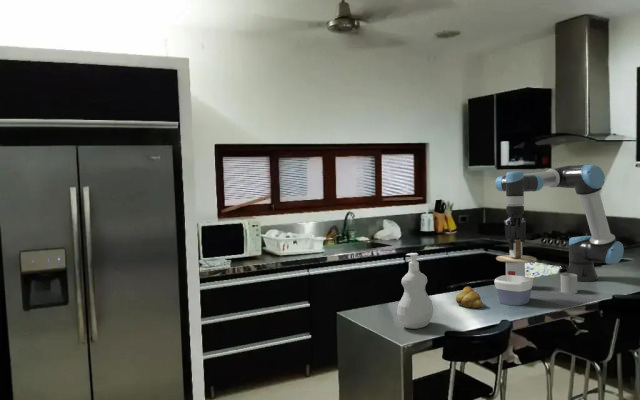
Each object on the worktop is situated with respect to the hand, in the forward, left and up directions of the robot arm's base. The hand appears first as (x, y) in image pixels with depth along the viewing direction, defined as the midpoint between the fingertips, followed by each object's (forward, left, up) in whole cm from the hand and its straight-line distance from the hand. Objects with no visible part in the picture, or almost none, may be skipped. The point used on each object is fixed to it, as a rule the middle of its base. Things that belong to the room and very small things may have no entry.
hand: (515, 256), depth 224 cm
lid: (0, 0, -2) cm, 2 cm away
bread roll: (+21, -10, -22) cm, 32 cm away
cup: (-34, +5, -22) cm, 41 cm away
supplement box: (-22, -17, -22) cm, 35 cm away
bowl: (+1, -1, -22) cm, 22 cm away
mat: (-18, +9, -21) cm, 29 cm away
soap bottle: (+59, -4, -22) cm, 63 cm away
